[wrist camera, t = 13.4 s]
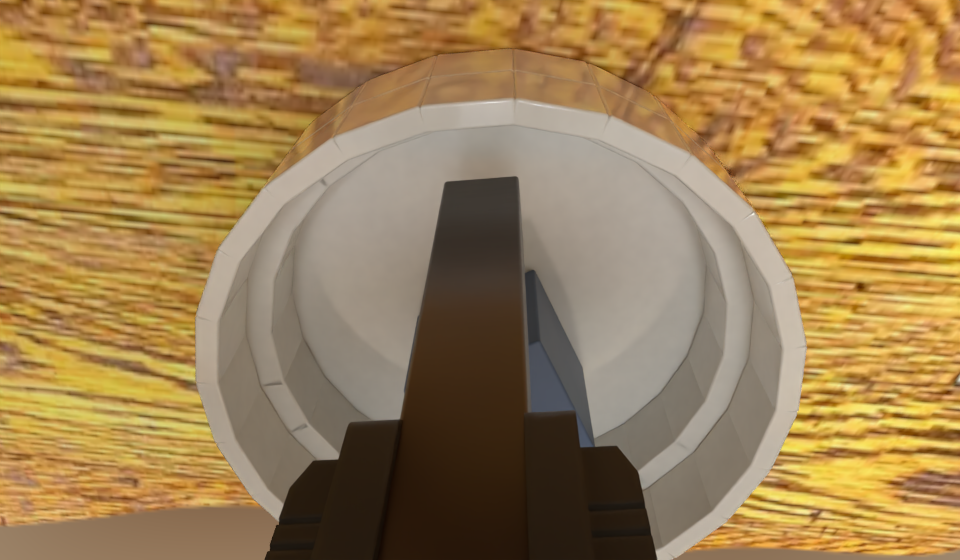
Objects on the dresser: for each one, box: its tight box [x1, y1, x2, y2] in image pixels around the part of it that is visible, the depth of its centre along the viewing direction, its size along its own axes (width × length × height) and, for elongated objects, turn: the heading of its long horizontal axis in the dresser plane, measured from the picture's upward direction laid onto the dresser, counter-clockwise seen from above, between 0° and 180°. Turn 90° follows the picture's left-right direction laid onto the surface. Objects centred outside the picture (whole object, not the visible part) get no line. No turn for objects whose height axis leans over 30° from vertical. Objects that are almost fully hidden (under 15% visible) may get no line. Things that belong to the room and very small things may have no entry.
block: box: [404, 270, 595, 447], centre depth 23 cm, size 4×4×4 cm
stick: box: [377, 176, 532, 560], centre depth 13 cm, size 2×2×14 cm
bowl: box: [195, 48, 807, 560], centre depth 22 cm, size 15×15×6 cm
